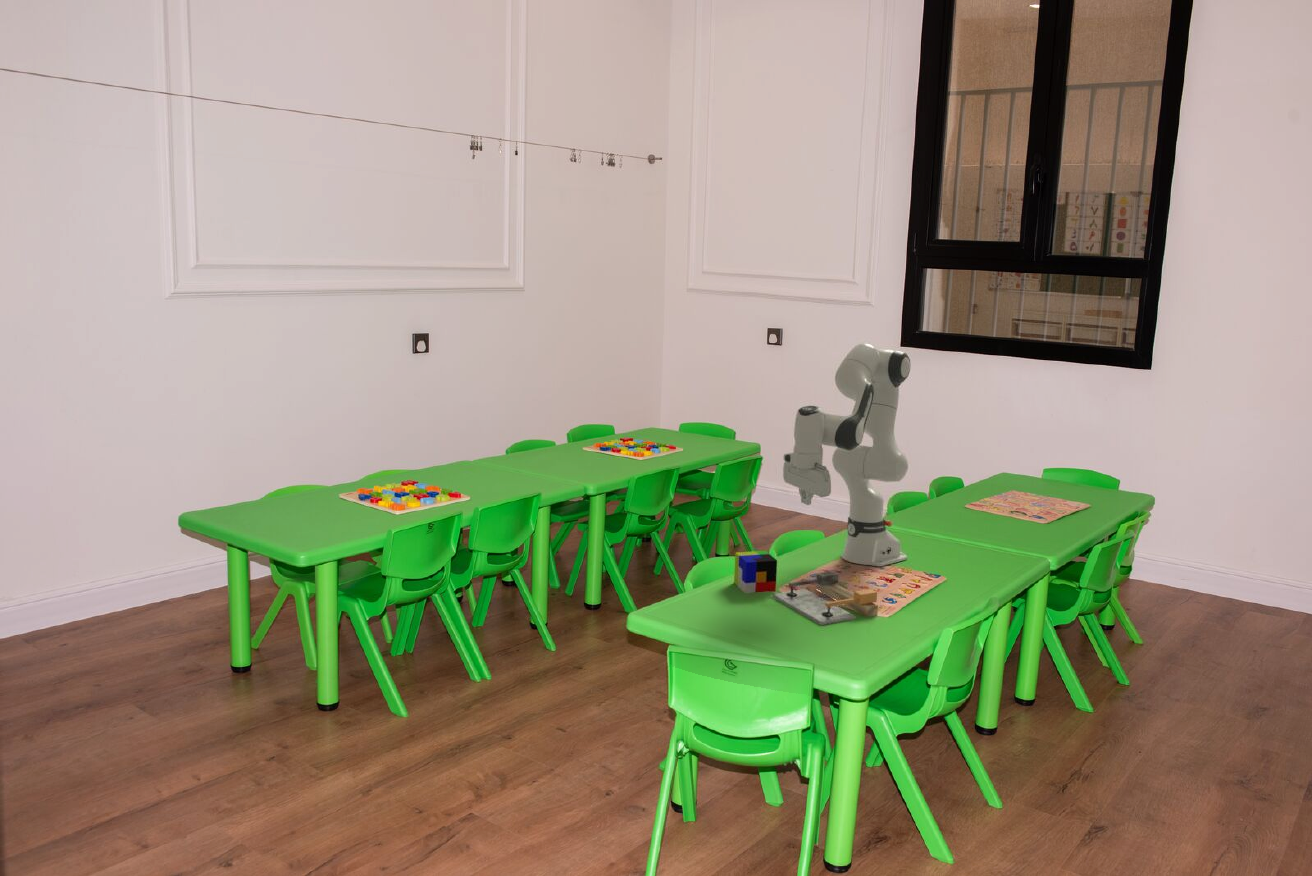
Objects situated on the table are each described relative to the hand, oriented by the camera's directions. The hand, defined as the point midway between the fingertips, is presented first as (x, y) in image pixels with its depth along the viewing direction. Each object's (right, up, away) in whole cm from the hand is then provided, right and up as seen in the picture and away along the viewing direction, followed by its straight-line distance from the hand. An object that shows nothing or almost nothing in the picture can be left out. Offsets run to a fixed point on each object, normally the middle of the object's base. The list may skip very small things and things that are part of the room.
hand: (805, 503), depth 320 cm
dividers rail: (+6, -30, -9) cm, 31 cm away
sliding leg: (+10, -30, -17) cm, 36 cm away
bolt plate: (0, -30, -12) cm, 32 cm away
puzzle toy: (-15, -27, +5) cm, 31 cm away
